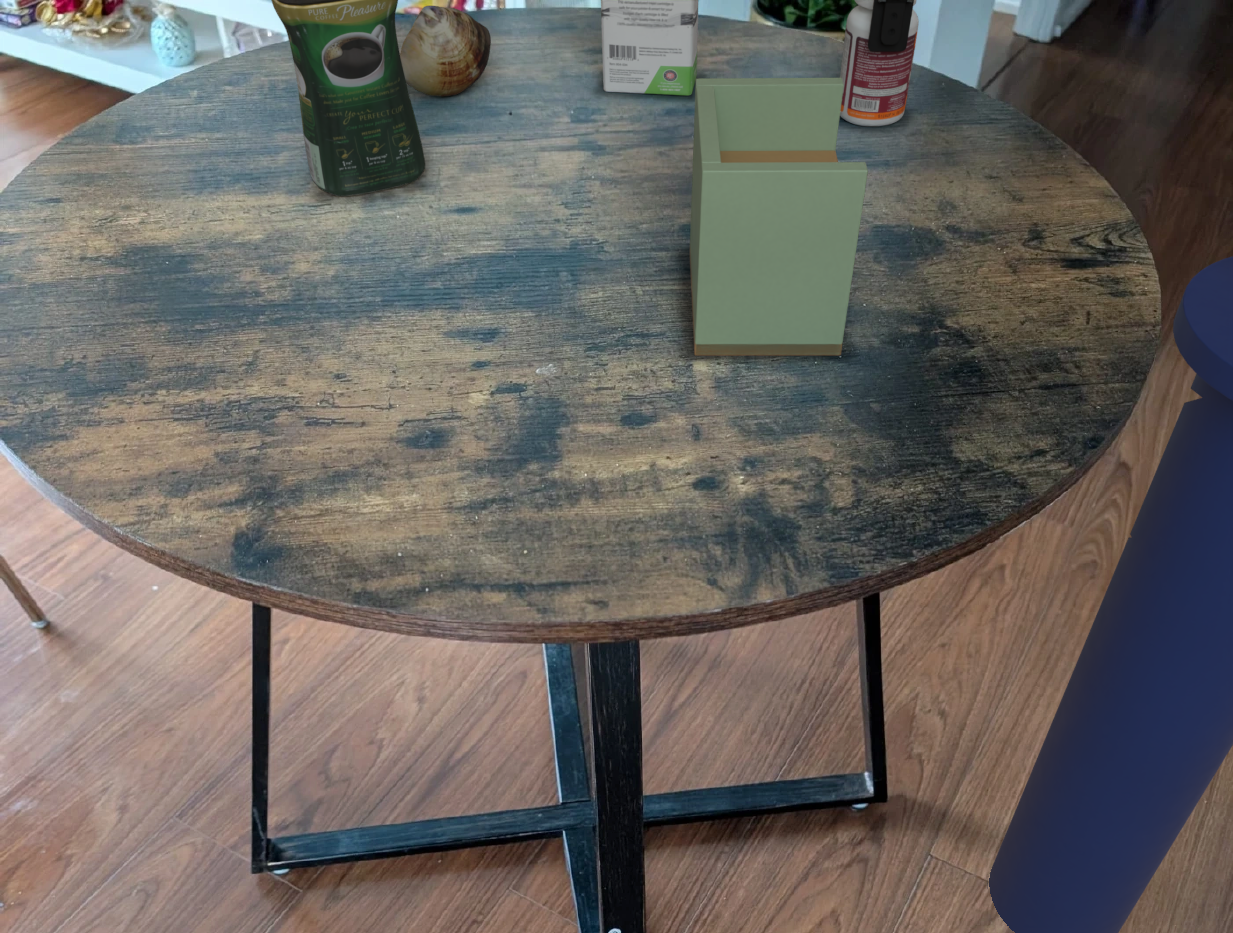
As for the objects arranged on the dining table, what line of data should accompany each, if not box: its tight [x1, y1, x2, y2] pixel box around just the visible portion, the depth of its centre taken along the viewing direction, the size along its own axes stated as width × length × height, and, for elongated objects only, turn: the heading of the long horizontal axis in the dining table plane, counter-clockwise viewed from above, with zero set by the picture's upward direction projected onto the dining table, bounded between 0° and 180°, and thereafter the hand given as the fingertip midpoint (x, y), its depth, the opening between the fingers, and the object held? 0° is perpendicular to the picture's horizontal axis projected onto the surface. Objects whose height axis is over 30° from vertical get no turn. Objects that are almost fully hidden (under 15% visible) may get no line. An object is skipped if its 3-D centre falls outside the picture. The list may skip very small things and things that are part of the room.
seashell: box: [400, 5, 492, 97], centre depth 107 cm, size 10×6×8 cm, turn 127°
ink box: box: [600, 0, 699, 96], centre depth 107 cm, size 9×5×12 cm, turn 80°
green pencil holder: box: [689, 77, 869, 356], centre depth 79 cm, size 10×14×13 cm
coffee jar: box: [271, 0, 426, 197], centre depth 92 cm, size 10×8×19 cm
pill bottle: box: [839, 0, 920, 127], centre depth 102 cm, size 6×6×11 cm
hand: (881, 32), depth 101 cm, fingers closed on pill bottle, 6 cm apart
